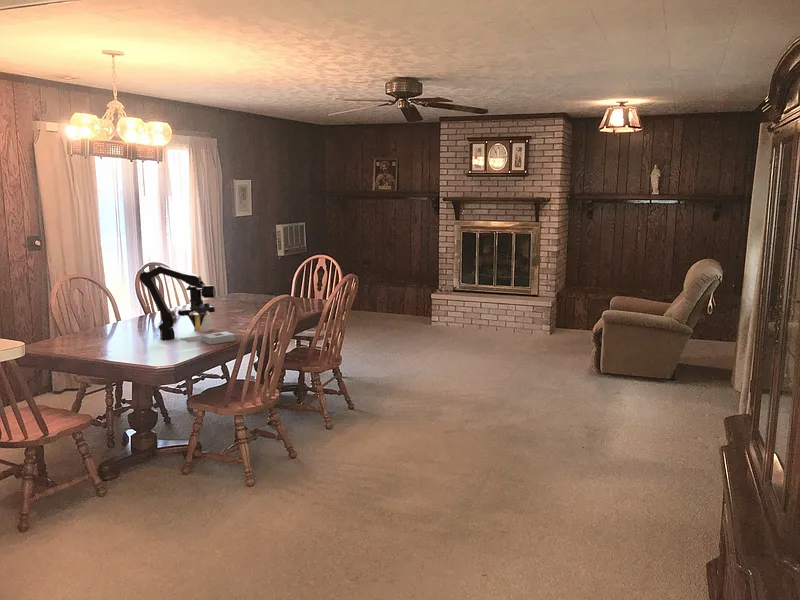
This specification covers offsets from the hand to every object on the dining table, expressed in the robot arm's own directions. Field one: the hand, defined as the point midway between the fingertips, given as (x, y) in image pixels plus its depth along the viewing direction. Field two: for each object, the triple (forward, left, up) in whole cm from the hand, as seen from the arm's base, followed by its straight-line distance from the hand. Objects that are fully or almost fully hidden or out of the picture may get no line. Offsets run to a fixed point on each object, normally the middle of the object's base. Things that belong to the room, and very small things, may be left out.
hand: (197, 326), depth 360 cm
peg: (0, 0, -3) cm, 3 cm away
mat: (-1, 0, -7) cm, 7 cm away
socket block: (+6, -13, -7) cm, 16 cm away
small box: (+11, +18, -8) cm, 22 cm away
